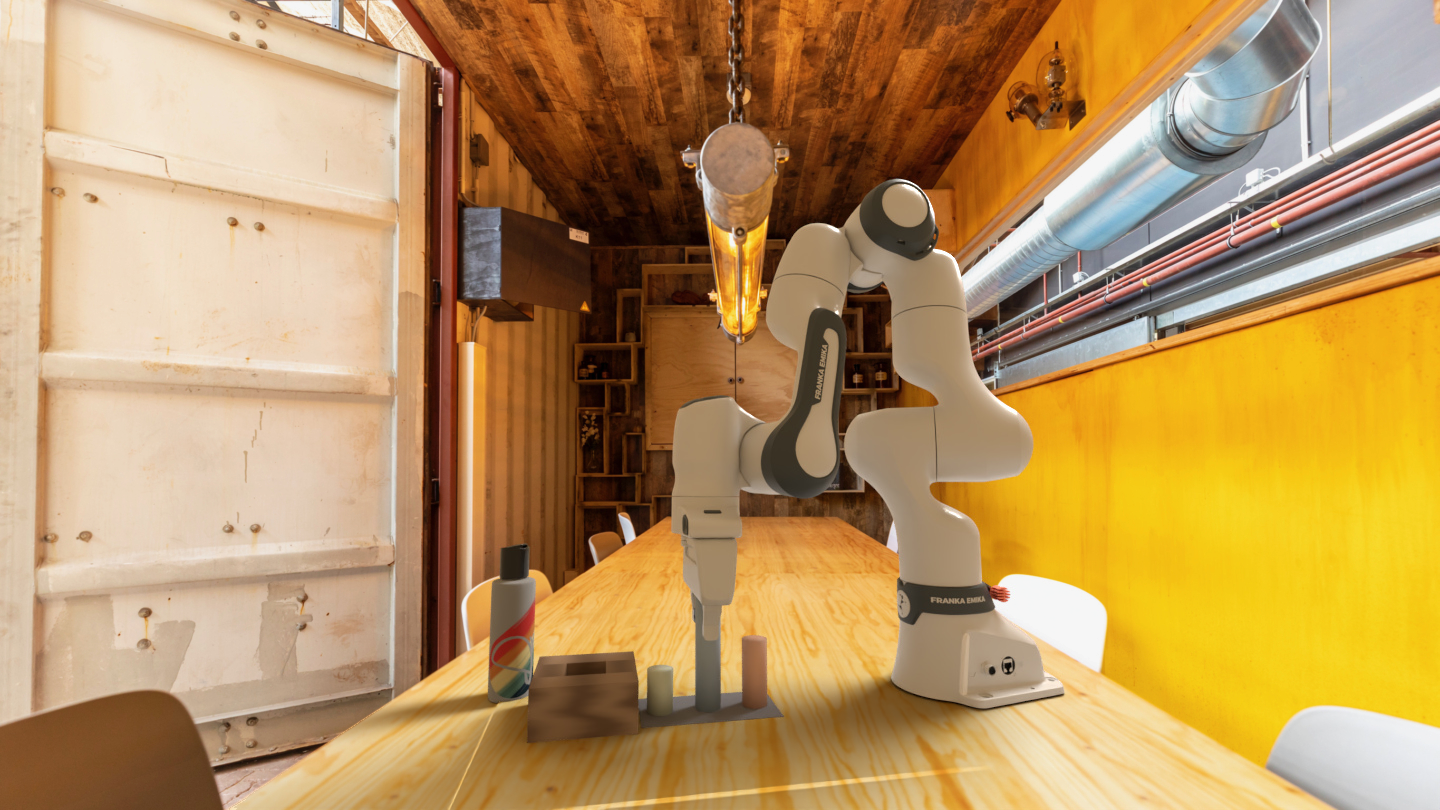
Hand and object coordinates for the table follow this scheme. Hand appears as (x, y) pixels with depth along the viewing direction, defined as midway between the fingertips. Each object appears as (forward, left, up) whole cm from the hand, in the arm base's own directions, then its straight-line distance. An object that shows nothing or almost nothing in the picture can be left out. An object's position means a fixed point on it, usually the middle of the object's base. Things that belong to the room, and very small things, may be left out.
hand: (704, 630), depth 77 cm
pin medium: (-6, 0, -9) cm, 11 cm away
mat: (0, 0, -10) cm, 10 cm away
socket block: (+15, 0, -10) cm, 18 cm away
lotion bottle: (+25, -10, -10) cm, 28 cm away
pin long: (0, 0, -9) cm, 9 cm away
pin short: (+6, 0, -9) cm, 11 cm away
